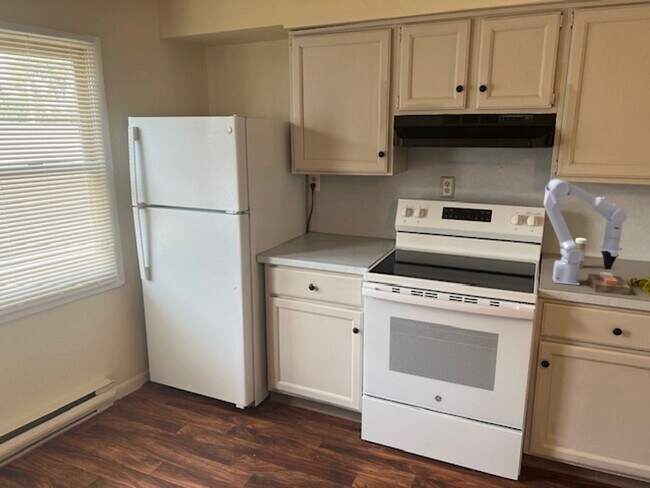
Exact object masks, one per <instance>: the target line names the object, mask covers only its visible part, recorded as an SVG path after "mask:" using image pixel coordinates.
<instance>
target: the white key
mask: <svg viewBox="0 0 650 488" xmlns="http://www.w3.org/2000/svg"><path fill="white" fill-rule="evenodd" d="M599 276H600V278H604V277H608V278H613V276H614V275H613V274H612V273H611V272H608V271H606V272H605V271H600V272H599Z"/></svg>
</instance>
